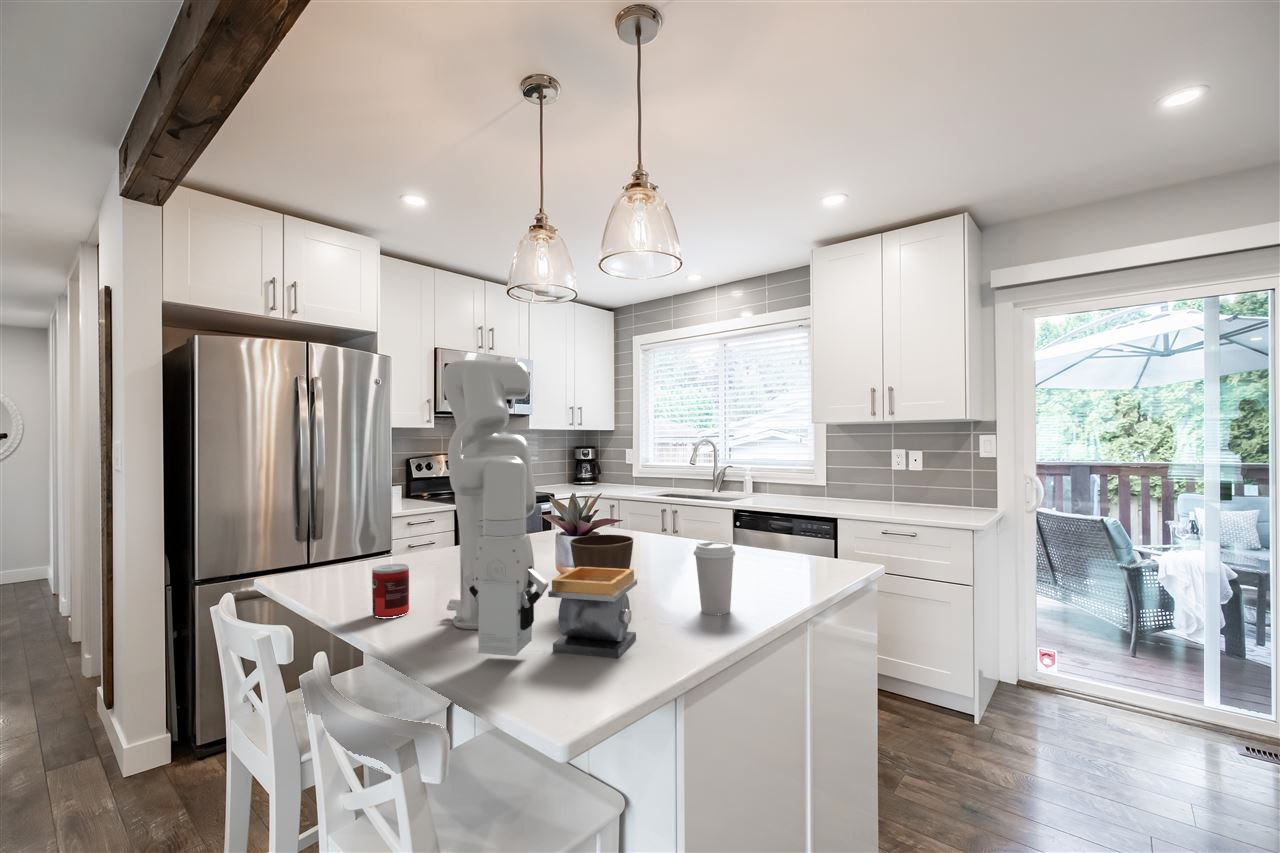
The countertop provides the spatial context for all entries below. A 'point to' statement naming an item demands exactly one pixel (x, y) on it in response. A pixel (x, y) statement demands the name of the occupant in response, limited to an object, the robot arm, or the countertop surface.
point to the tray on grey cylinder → (594, 611)
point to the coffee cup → (715, 576)
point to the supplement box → (500, 619)
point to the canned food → (390, 590)
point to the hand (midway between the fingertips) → (505, 624)
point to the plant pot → (602, 551)
